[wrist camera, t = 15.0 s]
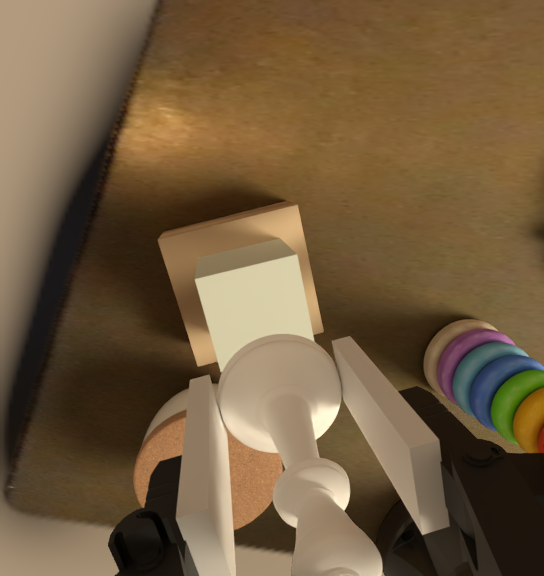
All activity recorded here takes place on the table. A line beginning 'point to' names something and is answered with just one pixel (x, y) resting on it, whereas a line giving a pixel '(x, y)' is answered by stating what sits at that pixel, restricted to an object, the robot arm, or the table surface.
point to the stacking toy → (489, 380)
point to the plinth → (223, 237)
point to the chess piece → (298, 448)
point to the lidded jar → (242, 461)
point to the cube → (252, 296)
